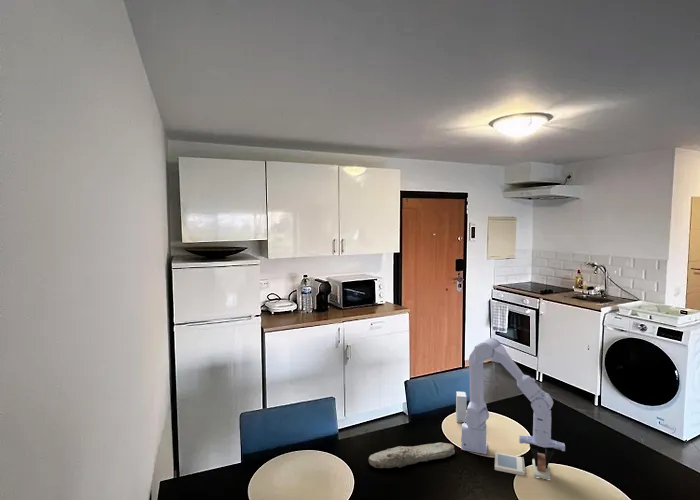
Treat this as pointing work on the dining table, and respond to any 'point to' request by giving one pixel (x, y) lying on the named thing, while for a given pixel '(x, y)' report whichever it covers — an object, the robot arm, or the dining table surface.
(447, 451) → the long grey stone
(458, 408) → the skincare box
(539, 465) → the stub
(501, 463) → the ticket board
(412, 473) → the dining table surface
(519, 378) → the robot arm
